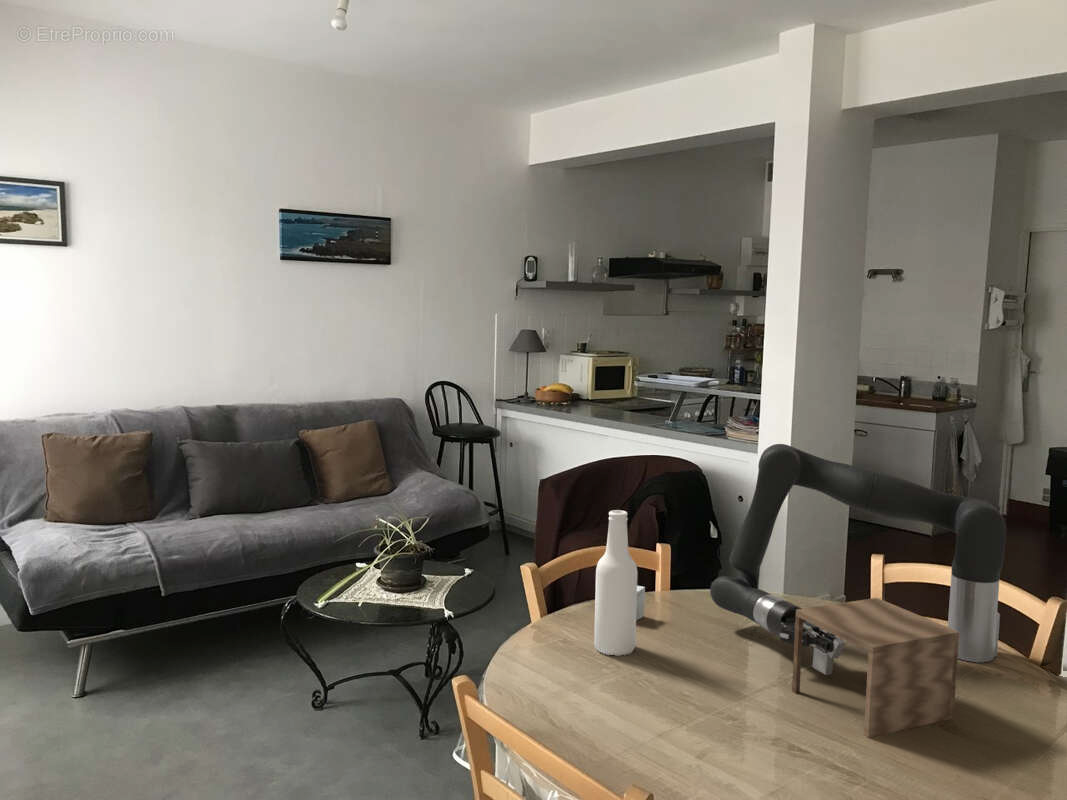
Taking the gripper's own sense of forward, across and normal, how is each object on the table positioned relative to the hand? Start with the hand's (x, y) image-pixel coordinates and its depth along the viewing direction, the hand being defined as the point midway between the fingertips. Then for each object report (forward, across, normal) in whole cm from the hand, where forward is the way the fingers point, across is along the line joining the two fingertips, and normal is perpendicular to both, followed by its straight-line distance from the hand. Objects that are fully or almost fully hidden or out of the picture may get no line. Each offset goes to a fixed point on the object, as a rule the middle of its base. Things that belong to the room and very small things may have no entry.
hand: (836, 646), depth 176 cm
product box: (-47, -20, +8) cm, 52 cm away
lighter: (-2, 0, +6) cm, 7 cm away
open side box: (+10, 0, +8) cm, 12 cm away
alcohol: (-31, -32, +8) cm, 46 cm away
